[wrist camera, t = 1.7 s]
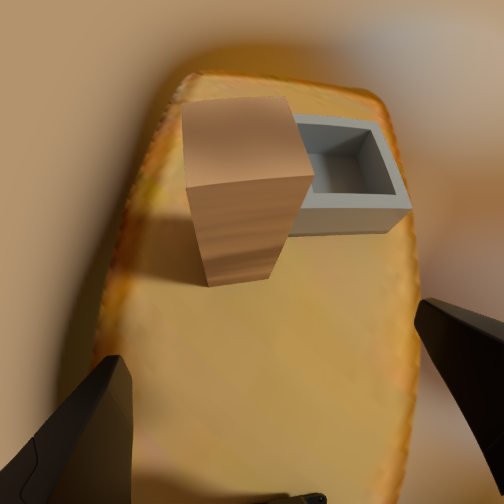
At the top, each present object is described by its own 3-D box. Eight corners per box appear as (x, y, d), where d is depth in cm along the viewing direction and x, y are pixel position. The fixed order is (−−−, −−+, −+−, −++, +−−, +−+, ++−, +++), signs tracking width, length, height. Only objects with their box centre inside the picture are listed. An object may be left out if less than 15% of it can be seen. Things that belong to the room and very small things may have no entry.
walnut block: (268, 278, 22) (314, 175, 10) (208, 287, 21) (185, 187, 9) (257, 225, 24) (284, 96, 12) (201, 232, 23) (181, 103, 11)
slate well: (386, 233, 24) (412, 208, 20) (287, 236, 23) (299, 208, 19) (360, 151, 28) (377, 122, 23) (273, 147, 27) (280, 113, 22)
